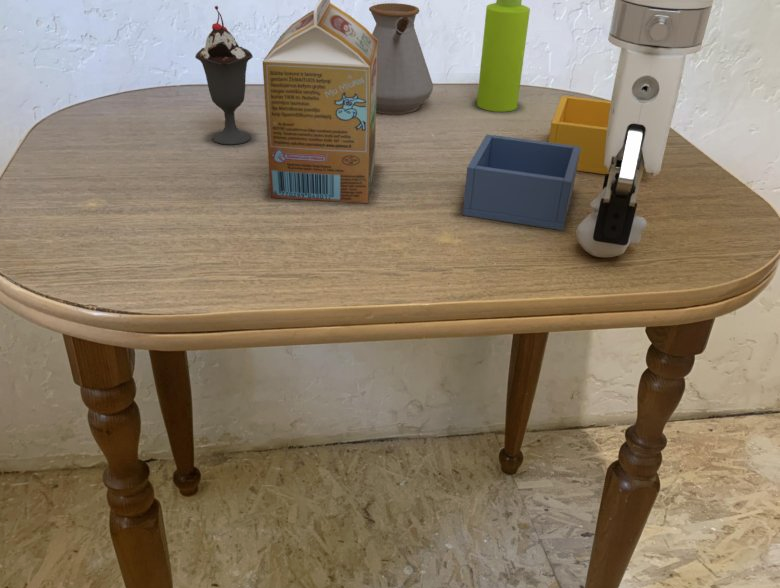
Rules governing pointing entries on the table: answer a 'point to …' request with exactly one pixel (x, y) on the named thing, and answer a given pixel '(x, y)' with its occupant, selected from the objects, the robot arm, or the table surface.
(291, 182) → the milk carton
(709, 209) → the table surface
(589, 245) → the grey rounded piece
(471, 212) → the slate bin
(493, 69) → the soap dispenser
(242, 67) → the sundae
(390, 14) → the coffee pot
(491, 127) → the table surface
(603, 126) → the mustard bin
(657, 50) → the robot arm
